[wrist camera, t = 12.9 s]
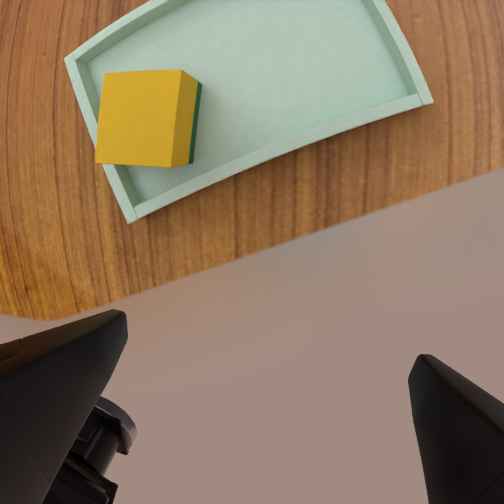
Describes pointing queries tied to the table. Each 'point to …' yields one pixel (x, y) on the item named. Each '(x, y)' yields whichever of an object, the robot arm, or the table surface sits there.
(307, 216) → the table surface
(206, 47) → the tray
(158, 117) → the sponge
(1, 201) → the table surface
